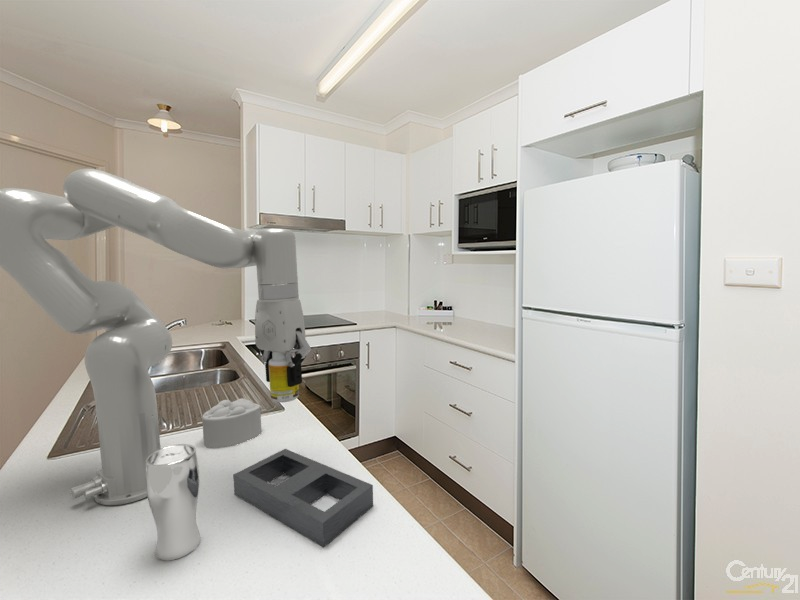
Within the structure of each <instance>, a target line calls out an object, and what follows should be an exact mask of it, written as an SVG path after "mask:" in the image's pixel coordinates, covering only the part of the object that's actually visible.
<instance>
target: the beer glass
mask: <svg viewBox="0 0 800 600" xmlns="http://www.w3.org/2000/svg"><path fill="white" fill-rule="evenodd" d="M196 449H197V447H196V446H194V445H192V444H188V443H187V444H186V443H178V444H173V445H169V446H165V447H162V448H161V449H159V450H157V451H155V452H153V453H152V454H150V455H149V456H148V457H147V459H146V490H147V497H146V498H147V500H148V504H149V507H150V510H151V514H152V517H153V521H154V523H155V527H156V528H155V529H156V544H155V545H156V546H155V556H156V558H157V559H159V560H161V561H165V562H166V561H175V560H178V559H180V558H183V557H186V556H187V555H189V554H191V553H192V552H193V551H194V550H195V549H196V548H197V547H198V546H199V545H200V543H201V533H200V529H199V526H198V524H197V509H198V503H199V502H198V501H199V500H198V499H199V493H200V471H199V470H200V469H199V463H198V456H197V450H196Z"/></svg>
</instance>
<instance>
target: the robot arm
mask: <svg viewBox="0 0 800 600" xmlns="http://www.w3.org/2000/svg"><path fill="white" fill-rule="evenodd" d="M62 187H63V194H64V196H61V195H60V196H59V195H56V194H51V193H46V192H43V191H42V192H41V191H39V190H38V191H37V190H33V189H28V188H20V187H19V188H18V187H3V188H0V268H1V269H2V270H3V271H5V272H6V273H7V274H8V275H9V276H10V277H11V278H12V279H13V280H14V281H16V283H18V285H19V286H21V288H22V289H23V290H24V292H25V293H26V294H27V295H28V296H29V297H30V298H31V299H32V300H33V301H34V302H35V303H36V304H37V305H38V306H39V307H40V309H42V310H43V311H44V312H45V314H46V315H48V317H50V319H51V320H52V321H53V322H54V323H55V324H56V325H57V326H59V328H61V329H62V330H63V331H66V332H68V333H70V334H74V335H82V334H89V333H94V332H97V331H100V330H105V331H104V332H102V333H101V334H99V335H97V336H96V337H95V338H94V339H92V341H91V342H90V343H89V344H88V345H87V348H86V350H85V354H84V365H85V369H86V372H87V375H88V378H89V380H90V384H91V387H92V391H93V398H94V403H95V413H96V419H97V420H96V421H97V429H98V430H97V431H98V440H99V448H100V449H99V451H100V460H101V469H100V470H98V471H96V477H94V478H92V479H91V481H88V482H85V483H82V484H79V485H77V486H74V487H71V488H70V496H71V499H73V500H74V499H77V498H80V497H82V496H84V497H85V499H86V500H88V499H90V498H92V497H93V498H94V500H95V502H96V503H98V504H100V505H105V506H119V505H125V504H131V503H134V502H137V501H139V500H140V501H141V500H143V499H145V498H148V497H147V490H146V459H147V457H148V456H149V455H150V454H152V453H153V452H155V451H157V450H159V449H162V448H161V439H160V438H161V437H160V427H159V425H160V424H159V414H158V413H159V412H158V403H157V394H156V393H157V392H156V390H155V389H156V388H155V385H154V383H153V381H152V377H151V376H150V373H149V368H151V367H153V366H155V365H157V364H158V363H160V362H162V361H163V360H165V359H166V358H167V357H168V356H169V355H170V353H171V350H172V348H173V338H172V336H171V332H170V331H169V330H168V328H167V327H166V325H165V324H164V323H163V322H162V320H161V319H160V318H159V317H158V316H157V315H156V314H155V313H154V312H153V311H152V310H151V309H150V308H149V306H148V305H147V304H146V303H145V302H144V301H143V300H142V299H141V298H140V297H139V296H138V294H137V293H136V292H134V291H133V290H132V289H131V288H130V287H128V286H126V285H124V284H123V283H120V282H117V281H113V280H112V281H111V280H99V281H94V280H92V279H91V278H89V277H88V276H87V275H86V274H85V273H84V272H83V271H82V270H81V269H80V268H79V267H78V265H76V263H74V261H73V260H72V259H71V258H70V257H68V256H67V255H66V254H65V253H64V252H62V251H61V250H59V249H58V248H57V247H54V246H53V245H52V244H50V243H49V242H48V241H47V240H53V241H54V240H56V241H72V240H74V241H75V240H78V239H79V240H80V239H82V238H85V237H88V236H92V235H94V234H97V233H100V232H103V231H104V232H105V231H107V230H109V229H112V228H115V227H118V228H121V229H122V230H126V231H128V232H131V233H132V234H136V235H138V236H140V237H144V238H146V239H148V240H150V241H152V242H153V243H155V244H157V245H161V246H162V247H164V248H166V249H169V250H171V251H173V252H175V253H177V254H180V255H183V256H184V257H187V258H190V259H193V260H194V261H196V262H197V261H198V262H201V263H202V264H205V265H209V266H210V267H213V268H218V269H225V270H228V269H244V268H248V267H254V266H256V279H257V291H258V292H257V294H258V299H257V300H256V305H255V314H254V315H255V316H254V333H255V334H254V335H255V336H254V339H255V346H256V347H257V348H258V349H259V352H260V354H261V356H262V361H263V362H264V364H265V367H264V368H265V381H266V382H267V383H270V379H269V360H270V359H272V352H278V353H285V354H286V357H287V361H288V364H289V366H288V367H287V383H288V386H289V387H293V386H295V385H298V384H299V385H301V384H302V383H303V372H302V371H303V370H302V365H303V364H304V362H305V361H304V360H305V359H306V358H307V356H308V355H309V353H310V352H311V351H312V347H311V346H310V344H309V343H308V341H307V339H306V328H305V320H304V319H305V318H304V313H303V308H302V303H301V300H300V299H299V282H298V281H299V279H298V278H299V276H298V262H297V260H298V259H297V243H296V236H295V232H293V231H292V230H291V229H289V228H279V227H278V228H272V227H271V228H263V229H262V228H261V229H259V230H257V231H250V230H243V229H239V228H235V227H233V226H228V225H225V224H223V223H220V222H218V221H215V220H213V219H211V218H210V219H209V218H208V217H205V216H202V215H200V214H199V213H198V214H197V213H195V212H193V211H191V210H188V209H186V208H184V207H182V206H180V205H178V203H176V201H175V200H174V199H172V198H170V196H169V197H168V196H167V195H164V194H161V193H158V192H156V191H153V190H151V189H149V188H146V187H143V186H141V185H138V184H136V183H133V181H130V180H129V179H126V178H123V177H121V176H118V175H115V174H113V173H110V172H108V171H107V172H106V171H104V170H100V169H97V168H87V167H86V168H80V169H77V170H74V171H72V172H71V173H70V174H68V175H67V177H66V178H65V180H64V181H63V185H62ZM292 353H293V355H292ZM294 354H295V355H294ZM293 356H294V358H293Z"/></svg>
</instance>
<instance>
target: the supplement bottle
mask: <svg viewBox="0 0 800 600" xmlns="http://www.w3.org/2000/svg"><path fill="white" fill-rule="evenodd" d="M292 355H293V358H294V357H295V355H294V353H292ZM288 366H289V364H288V361H287V357H286V354H285V353H278V352H272V359H270V360H269V379H270V382H269V392H270V399H271V401H272V402H274V403H287V402H293V401H295V400H297V398H299V396H300V387H299V386H300V384H298V385H295V386H293V387H289V386H288V383H287V367H288Z"/></svg>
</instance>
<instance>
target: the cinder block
mask: <svg viewBox="0 0 800 600" xmlns="http://www.w3.org/2000/svg"><path fill="white" fill-rule="evenodd" d="M283 474H285V475H287V476H288V478H287V479H285V480H283V481H281V482H280V483H278V484H277V485H273V484H271V483H270V482H271V481H272V480H274V479H276V478H277V477H279V476H281V475H283ZM373 487H374V485H373V484H371V483H369V482H366V481H364V480H362V479H359V478H356V477H354V476H352V475H349V474H347V473H345V472H342V471H340V470H337V469H334V468H332V467H331V466H328V465H325V464H324V463H321V462H319V461H316V460H313V459H311V458H308V457H306V456H304V455H301V454H299V453H297V452H294V451H292V450H289V449H287V448H284V449H282V450H279V451H277V452H276V453H274V454H271V455H270V456H268V457H266V458H263V459H262V460H260V461H257V462H256V463H254V464H251V465H250V466H248V467H245V468H244V469H242V470H240V471H237V472H236V473H234V474H233V491H234V496H236V497H238V498H240V499H241V500H243V501H244V502H246V503H248V504H250V505H251V506H253V507H255V508H256V509H259V510H260V511H261V512H263V513H265V514H266V515H268V516H270V517H272V518H273V519H275V520H277V521H279V522H280V523H282V524H283V525H285V526H287V527H289V528H291V529H292V530H294V531H295V532H297V533H299V534H300V535H302V536H304V537H306V538H308V540H311V541H312V542H314V543H316V544H317V545H319V546H321V547H322V548H325V547H326V546H327V545H329V544H330V543H331V542H332V541H333V540H334V539H336V537H338V536H339V535H340V534H342V533H343V532H344V531H345V530H346V529H348V528H349V527H350V526H351V525H352V524H353V523H355V522H356V521H357V520H359V518H361V517H362V516H363V515H365V514H366V513H367V512H368V511H369V510H370V509H372V508H373V507H374V490H373V489H374V488H373ZM326 494H327V495H329V496H331V497H333V498H335V499H338V501H337V502H336V503H334V504H333V505H332V506H330V507H329V508H328V509H326V510H325V511H324V510H322V509H320V508H318V507H316V506H314V505H312V504H313V503H315V502H316V501H318V500H319V499H321V498H323V496H325V495H326Z"/></svg>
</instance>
